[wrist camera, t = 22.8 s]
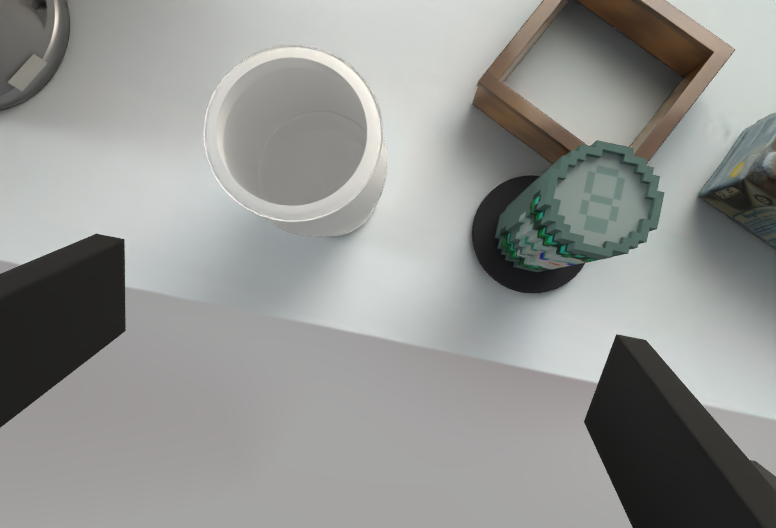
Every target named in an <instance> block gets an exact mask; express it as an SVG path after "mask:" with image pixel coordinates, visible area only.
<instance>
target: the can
mask: <svg viewBox="0 0 776 528" xmlns="http://www.w3.org/2000/svg"><path fill="white" fill-rule="evenodd" d="M633 152H634V148H630V147H625V146H621V145H616V144H611V143H607V142H602V141H596V142H595V143H593V144H592V145H591V146H586V145H579V146H578V147H577V148H576V149H575V150H571V151H570V152H569V153H568V154H567V155H566V156H562V157H561V158H560V159H558V160H557V161H556V162H555V163H554V164H553V165H552V166H551V167H550V168H549V169H547V170H546V171H545V172H544V173H543V174H542V175H541V176H540V177H539V178H538V179H537V180H535V181H534V182H533V183H532V184H531V185H530V186H529V187H528V188H527V189H526V190H524V191H523V192H522V193H521V194H520V195H519V196H518V197H517V198H516V199H515V200H514V201H512V202H511V203H510V204H509V205H508V206H507V207H506V210H505V211H504V212H503V213H502V214H500V217H499V221H498V226H497V230H496V235H495V238H496V239H499V243H498V248H497V249H502V252H501V254H502V255H506V257H505V260H507V261H511V262H514V266H513V267H516V268H520V269H525V270H529V271H533V272H541V271H546V270H551V269H556V268H561V267H566V266H571V265H576V264H581V263H586V262H591V261H596V260H601V259H605V258H610V257H613V256H618V255H622V254H627V253H628V252H629V249H634V248H637V247H638V244H640V243H644V242H647V237H648V232H649V231H652V230H655V229H657V227H658V222H659V217H660V212H661V207H662V202H663V197H664V192H660V191H657V188H658V183H659V178H660V176H655V175H652V174H653V169H654V168H653V167H649V166H646V165H647V160H648V159H646V158H642V157H637V156H633Z"/></svg>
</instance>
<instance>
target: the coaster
mask: <svg viewBox="0 0 776 528" xmlns="http://www.w3.org/2000/svg"><path fill="white" fill-rule="evenodd" d="M539 177H540V176H522V177H517V178H514V179H511V180H508V181H506V182H504V183H502V184H500V185H499V186H497V187H496V188H495V189H494V190H492V191H491V192H490V193H489V194H488V195H487V197H486V198H485V199H484V200H483V202H482V203H481V205H480V206H479V208H478V210H477V213H476V215H475V218H474V223H473V230H472V238H473V246H474V250H475V253H476V256H477V258H478V260H479V262H480V264H481V265H482V267H483V268H484V270H485V271H486V272H487V273H488V274H489V275H490V276H491V277H492V278H493V279H494V280H495V281H497V282H498V283H500V284H501V285H503V286H505V287H507V288H509V289H512V290H515V291H519V292H523V293H542V292H547V291H551V290H554V289H557V288H559V287H561V286H563V285H564V284H566V283H568V282H569V281H570V280H571V279H573V278H574V277H575V276H576V275H577V274H578V273H579V271H580V270H581V269H582V267H583V266H584V264H585V263H581V264H576V265H571V266H566V267H561V268H556V269H551V270H546V271H541V272H533V271H529V270H525V269H520V268H516V267H513V266H514V262H511V261H507V260H505V257H506V255H502V254H501V252H502V249H497V248H498V243H499V239H496V238H495V235H496V230H497V226H498V221H499V217H500V214H502V213H503V212H504V211H505V210H506V207H507V206H508V205H509V204H510V203H511V202H512V201H514V200H515V199H516V198H517V197H518V196H519V195H520V194H521V193H522V192H523V191H524V190H526V189H527V188H528V187H529V186H530V185H531V184H532V183H533V182H534V181H535V180H537V179H538V178H539Z"/></svg>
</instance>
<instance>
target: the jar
mask: <svg viewBox="0 0 776 528" xmlns="http://www.w3.org/2000/svg"><path fill="white" fill-rule="evenodd" d="M204 146H205V152H206V156H207V159H208V162H209V165H210V168H211V170H212V172H213V174H214V176H215V177H216V179H217V181H218V182H219V184H220V185H221V186H222V188H223V189H224V190H225V191H226V192H227V193H228V194H229V195H230V196H231V197H232V198H233V199H234V200H235V201H236V202H237V203H239V204H240V205H242V206H243V207H245V208H246V209H248V210H249V211H251V212H253V213H255V214H257V215H259V216H261V217H263V218H264V219H265V220H267V221H268V222H270V223H271V224H273V225H275V226H277V227H279V228H281V229H283V230H285V231H288V232H291V233H294V234H298V235H303V236H311V237H322V236H340V235H344V234H347V233H350V232H352V231H354V230H356V229H357V228H359V227H360V226H362V225H363V224H364V223H365V222H366V221H367V220H368V219H369V217H370V216H371V214H372V213H373V211H374V209H375V207H376V204H377V202H378V200H379V198H380V196H381V193H382V191H383V188H384V184H385V180H386V175H387V151H386V145H385V141H384V137H383V124H382V117H381V113H380V109H379V106H378V103H377V100H376V98H375V96H374V94H373V92H372V90H371V88H370V87H369V85H368V84H367V82H366V81H365V80H364V78H363V77H362V76H361V75H360V74H359V73H358V72H357V71H356V70H355V69H354V68H353V67H352V66H351V65H349V64H348V63H347V62H345V61H344V60H342V59H341V58H339V57H337V56H336V55H334V54H332V53H329V52H327V51H324V50H321V49H318V48H314V47H309V46H302V45H284V46H277V47H272V48H268V49H265V50H262V51H260V52H257V53H255V54H253V55H251V56H249V57H247V58H246V59H244V60H243V61H241V62H240V63H238V64H237V65H236V66H235V67H233V68H232V69H231V70H230V71H229V72H228V73H227V74H226V75H225V77H224V78H223V79H222V80H221V82H220V83H219V84H218V86H217V88H216V89H215V91H214V93H213V95H212V97H211V99H210V102H209V104H208V107H207V111H206V115H205V120H204Z"/></svg>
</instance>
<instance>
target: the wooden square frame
mask: <svg viewBox="0 0 776 528" xmlns="http://www.w3.org/2000/svg"><path fill="white" fill-rule="evenodd" d="M568 1H569V0H543V1H542V2H541V4H540V5H539V6H538V7H537V9H536V10H535V11H534V12H533V14H532V15H531V16H530V17H529V19H528V20H527V21H526V23H525V24H524V25H523V26H522V28H521V29H520V30H519V31H518V33H517V34H516V35H515V36H514V38H513V39H512V40H511V41H510V43H509V44H508V45H507V46H506V48H505V49H504V50H503V51H502V53H501V54H500V55H499V56H498V58H497V59H496V60H495V61H494V63H493V64H492V65H491V66H490V68H489V69H488V70H487V71H486V73H485V74H484V75H483V76H482V78H481V79H480V80H479V81H478V84H477V86H478V88H477V91H476V94H475V97H474V100H473V103H472V104H473V105H474V106H476V107H477V108H478V109H480V110H481V111H482V112H484V113H485V114H486V115H488V116H489V117H490V118H492V119H493V120H494V121H496V122H497V123H498V124H500V125H501V126H502V127H504V128H505V129H506V130H508V131H509V132H510V133H512V134H513V135H514V136H516V137H517V138H518V139H520V140H521V141H522V142H524V143H525V144H526V145H528V146H529V147H530V148H532V149H533V150H534V151H536V152H537V153H538V154H540V155H541V156H542V157H544V158H545V159H546V160H548V161H549V162H550V163H552V164H554V163H555V162H556V161H557V160H558V159H560V158H561V157H562V156H566V155H567V154H568V153H569V152H570V151H571V150H575V149H576V148H577V147H578V146H579V145H586V144H585V143H583V142H582V141H581V140H579V139H578V138H577V137H575V136H574V135H573V134H571V133H570V132H569V131H567V130H566V129H565V128H563V127H562V126H561V125H559V124H558V123H556V122H555V121H554V120H552V119H551V118H550V117H548V116H547V115H546V114H544V113H543V112H542V111H540V110H539V109H538V108H536V107H535V106H533V105H532V104H531V103H529V102H528V101H527V100H525V99H524V98H523V97H521V96H520V95H519V94H517V93H516V92H515V91H513V90H512V89H511V88H509V87H508V86H506V85H505V84H504V81H505V80H506V79H507V77H508V76H509V75H510V74H511V72H512V71H513V70H514V69H515V67H516V66H517V65H518V64H519V62H520V61H521V60H522V59H523V57H524V56H525V55H526V54H527V52H528V51H529V50H530V49H531V47H532V46H533V45H534V44H535V42H536V41H537V40H538V39H539V37H540V36H541V35H542V34H543V32H544V31H545V30H546V29H547V27H548V26H549V25H550V24H551V22H552V21H553V20H554V18H555V17H556V16H557V15H558V13H559V12H560V11H561V10H562V8H563V7H564V6H565V5H566V3H567V2H568ZM577 1H578V2H579V3H581V4H582V5H584V6H585V7H586V8H588V9H589V10H591V11H592V12H593V13H595V14H596V15H598V16H599V17H600V18H602V19H603V20H605V21H606V22H607V23H609V24H610V25H612V26H613V27H614V28H616V29H617V30H619V31H620V32H621V33H623V34H624V35H626V36H627V37H628V38H630V39H631V40H633V41H634V42H635V43H637V44H638V45H640V46H641V47H642V48H644V49H645V50H647V51H648V52H649V53H651V54H652V55H654V56H655V57H656V58H658V59H659V60H661V61H662V62H663V63H665V64H666V65H668V66H669V67H670V68H672V69H673V70H675V71H676V72H677V73H679V74H680V75H682V76H683V77H684V78H683V79H682V81H681V82H680V83H679V84H678V86H677V87H676V88H675V90H674V91H673V92H672V93H671V95H670V96H669V97H668V98H667V100H666V101H665V102H664V104H663V105H662V106H661V107H660V109H659V110H658V111H657V113H656V114H655V115H654V116H653V118H652V119H651V120H650V122H649V123H648V124H647V125H646V127H645V128H644V129H643V130H642V132H641V133H640V134H639V136H638V137H637V138H636V139H635V141H634V142H633V143H632V145H631V146H630V148H634V152H633V156H637V157H642V158H646V159H648V160H647V163H648V161H649V160H650V159H651V158H652V156H653V155H654V154H655V152H656V151H657V150H658V149H659V147H660V146H661V145H662V143H663V142H664V141H665V140H666V138H667V137H668V136H669V134H670V133H671V132H672V131H673V129H674V128H675V127H676V125H677V124H678V123H679V122H680V120H681V119H682V118H683V116H684V115H685V114H686V113H687V111H688V110H689V109H690V107H691V106H692V105H693V104H694V102H695V101H696V100H697V98H698V97H699V96H700V95H701V93H702V92H703V91H704V89H705V88H706V87H707V86H708V84H709V83H710V82H711V80H712V79H713V78H714V77H715V75H716V74H717V73H718V71H719V70H720V69H721V68H722V66H723V65H724V64H725V63H726V61H727V60H728V59H729V57H730V56H731V55H732V54H733V52H734V51H735V49H734V48H732V47H731V46H729V45H728V44H727V43H725V42H724V41H722V40H721V39H719V38H718V37H717V36H715V35H714V34H712V33H711V32H709V31H708V30H707V29H705V28H704V27H702V26H701V25H700V24H698V23H697V22H695V21H694V20H692V19H691V18H690V17H688V16H687V15H685V14H684V13H683V12H681V11H680V10H678V9H677V8H675V7H674V6H673V5H671V4H670V3H668V2H667V1H665V0H577ZM586 146H588V145H586Z"/></svg>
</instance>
